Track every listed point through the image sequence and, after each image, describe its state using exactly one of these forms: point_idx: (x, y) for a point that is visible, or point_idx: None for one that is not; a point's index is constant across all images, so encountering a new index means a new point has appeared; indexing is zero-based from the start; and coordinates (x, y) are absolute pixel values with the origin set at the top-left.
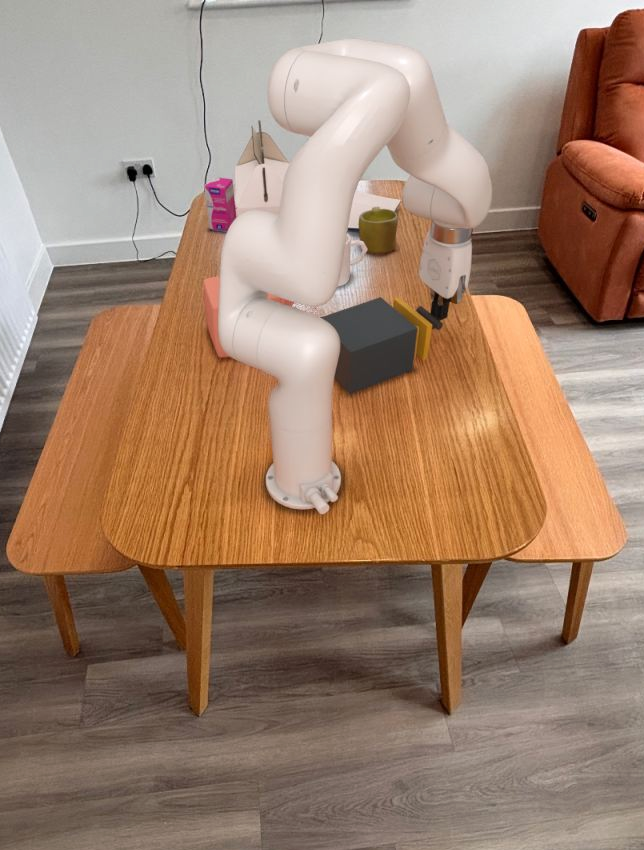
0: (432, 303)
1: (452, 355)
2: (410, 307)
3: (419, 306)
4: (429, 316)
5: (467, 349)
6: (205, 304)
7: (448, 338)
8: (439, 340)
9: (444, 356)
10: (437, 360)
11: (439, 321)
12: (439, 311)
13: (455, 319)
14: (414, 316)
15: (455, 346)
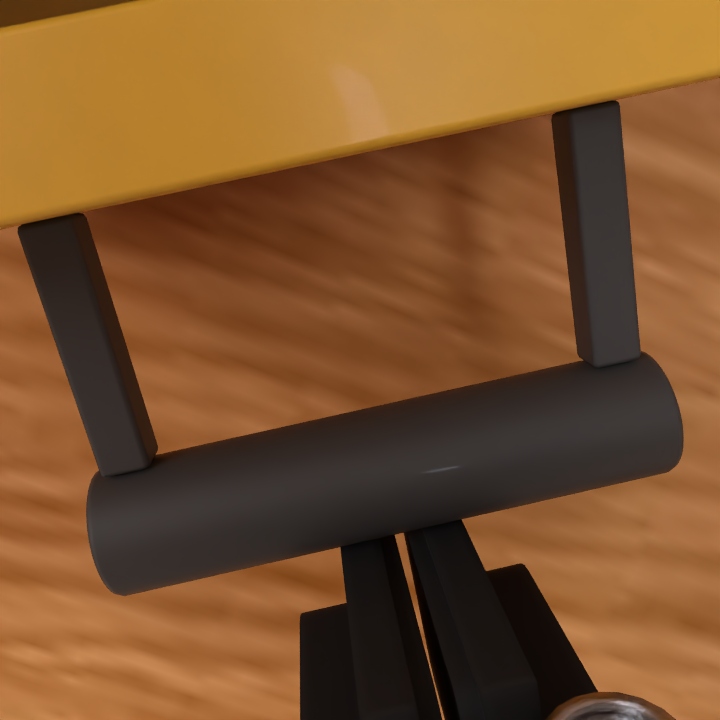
0: (493, 656)
1: (75, 500)
2: (517, 90)
3: (674, 427)
4: (345, 473)
5: (131, 647)
6: None
7: (338, 562)
8: None
9: (78, 427)
10: (28, 340)
11: (136, 568)
12: (347, 667)
13: None
14: (75, 19)
15: None
